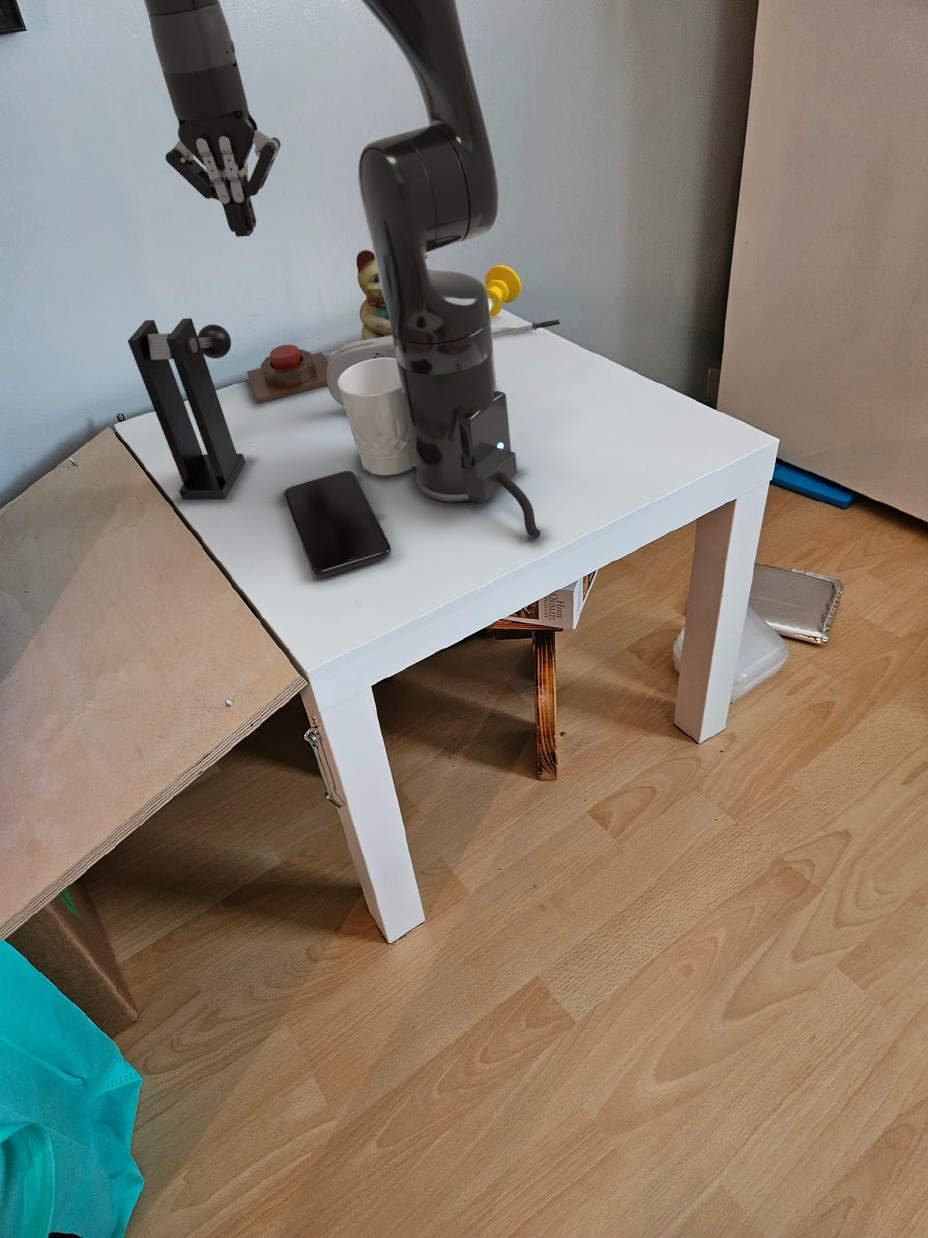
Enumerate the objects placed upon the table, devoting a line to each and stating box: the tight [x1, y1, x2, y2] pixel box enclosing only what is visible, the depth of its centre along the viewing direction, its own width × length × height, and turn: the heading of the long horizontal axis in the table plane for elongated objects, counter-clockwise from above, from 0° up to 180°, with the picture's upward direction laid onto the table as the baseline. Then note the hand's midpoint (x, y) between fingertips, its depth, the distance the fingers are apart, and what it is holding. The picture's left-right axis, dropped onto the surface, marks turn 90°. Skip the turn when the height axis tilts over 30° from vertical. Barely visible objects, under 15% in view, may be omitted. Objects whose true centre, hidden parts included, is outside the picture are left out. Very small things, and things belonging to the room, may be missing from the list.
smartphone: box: [283, 470, 392, 578], centre depth 91 cm, size 8×1×16 cm
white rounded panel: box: [327, 336, 396, 408], centre depth 106 cm, size 20×2×8 cm, turn 98°
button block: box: [246, 348, 329, 404], centre depth 115 cm, size 10×8×2 cm
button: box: [269, 344, 301, 370], centre depth 114 cm, size 4×4×2 cm
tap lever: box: [147, 323, 232, 360], centre depth 95 cm, size 14×4×4 cm, turn 171°
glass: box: [338, 358, 416, 476], centre depth 96 cm, size 8×8×10 cm
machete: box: [491, 319, 561, 337], centre depth 119 cm, size 14×2×1 cm, turn 98°
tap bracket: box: [127, 317, 246, 501], centre depth 94 cm, size 7×6×18 cm
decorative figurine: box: [355, 248, 429, 340], centre depth 112 cm, size 10×8×15 cm
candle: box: [484, 264, 522, 317], centre depth 119 cm, size 5×5×16 cm
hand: (245, 233), depth 103 cm, fingers closed
